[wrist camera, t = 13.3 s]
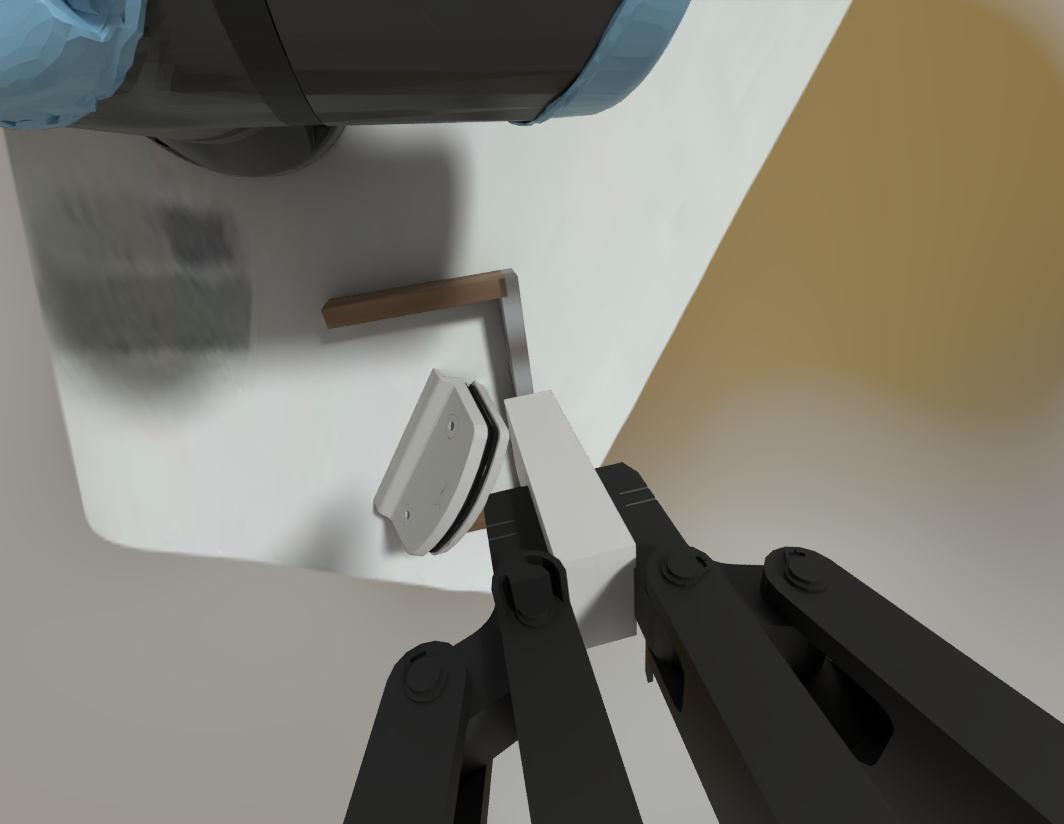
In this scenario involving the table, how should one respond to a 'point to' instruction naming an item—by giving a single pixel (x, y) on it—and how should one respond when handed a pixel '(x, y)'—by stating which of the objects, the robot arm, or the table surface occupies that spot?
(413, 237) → the table surface
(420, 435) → the hinge
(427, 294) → the brown u-shaped frame
